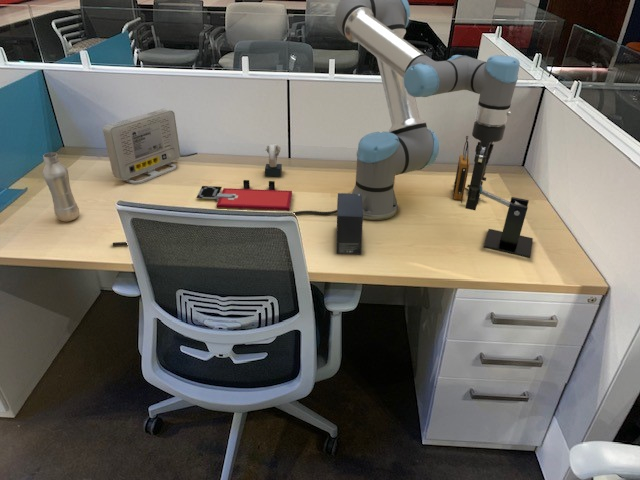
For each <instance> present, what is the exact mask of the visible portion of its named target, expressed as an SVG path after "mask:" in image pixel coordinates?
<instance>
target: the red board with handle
mask: <svg viewBox="0 0 640 480" xmlns="http://www.w3.org/2000/svg"><path fill="white" fill-rule="evenodd" d="M242 182H243V188H232V187H231V188H229V187H223V186H217V185H216V186H213V185H210V186H209V185H202V186H201V187H200V190H199V191H198V193H197V196H196V199H212V200H216V208H218V209H220V208H221V209H222V208H223V209H241V210H242V209H243V210H244V209H245V210H269V211H290V209H291V202H292V196H293V191H292V190H279V189H276V184H275V183H276V182H275V180H269V181H268V189H255V188H254V189H253V188H250V187H251V186H250V185H251V183H250V179H243V181H242ZM222 188H223V189H222ZM221 190H222V191H221Z"/></svg>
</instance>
